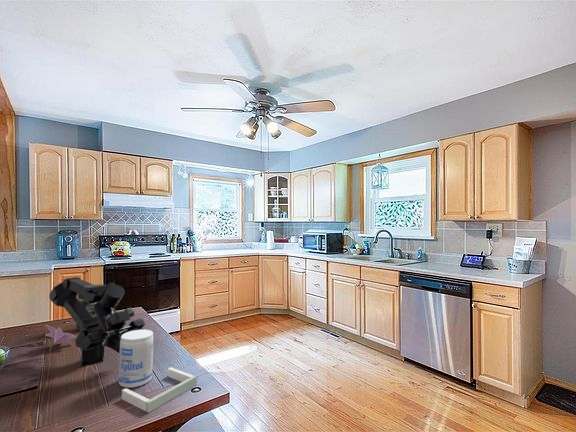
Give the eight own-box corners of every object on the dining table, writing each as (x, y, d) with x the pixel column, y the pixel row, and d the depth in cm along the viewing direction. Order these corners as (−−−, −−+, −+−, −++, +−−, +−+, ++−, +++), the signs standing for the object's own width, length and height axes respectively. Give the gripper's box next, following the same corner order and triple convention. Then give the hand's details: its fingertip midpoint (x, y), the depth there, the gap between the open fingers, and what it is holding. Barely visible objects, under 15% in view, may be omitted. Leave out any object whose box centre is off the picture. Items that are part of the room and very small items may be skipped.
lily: (76, 352, 121) (84, 327, 126) (42, 349, 113) (51, 322, 118) (62, 355, 127) (70, 331, 132) (29, 352, 119) (39, 326, 124)
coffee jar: (79, 333, 140) (79, 292, 140) (74, 328, 145) (75, 289, 146) (102, 327, 147) (103, 288, 148) (97, 324, 152) (98, 286, 153)
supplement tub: (116, 391, 91) (117, 341, 91) (120, 377, 100) (121, 331, 100) (152, 385, 95) (153, 337, 95) (153, 371, 103) (153, 327, 104)
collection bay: (121, 399, 87) (121, 390, 87) (170, 374, 101) (170, 367, 101) (148, 412, 81) (148, 403, 81) (196, 384, 95) (196, 376, 95)
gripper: (87, 308, 96) (106, 351, 90) (142, 296, 112) (161, 332, 106) (74, 329, 100) (91, 372, 94) (129, 314, 116) (147, 350, 109)
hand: (125, 355), depth 100 cm, fingers closed
